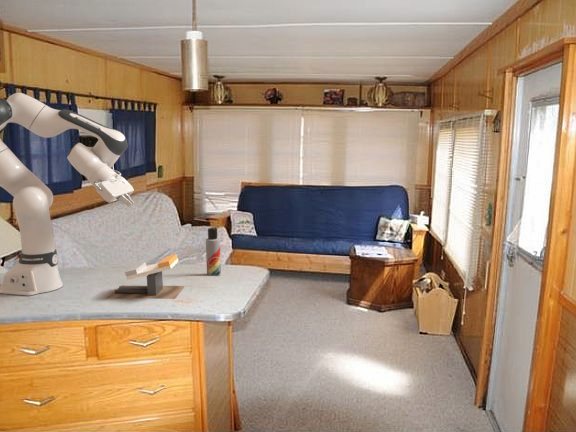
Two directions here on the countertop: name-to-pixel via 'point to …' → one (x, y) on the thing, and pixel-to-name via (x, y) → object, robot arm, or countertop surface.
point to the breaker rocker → (151, 267)
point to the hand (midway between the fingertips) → (131, 205)
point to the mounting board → (165, 293)
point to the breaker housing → (154, 283)
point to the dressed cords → (132, 290)
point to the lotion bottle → (213, 253)
